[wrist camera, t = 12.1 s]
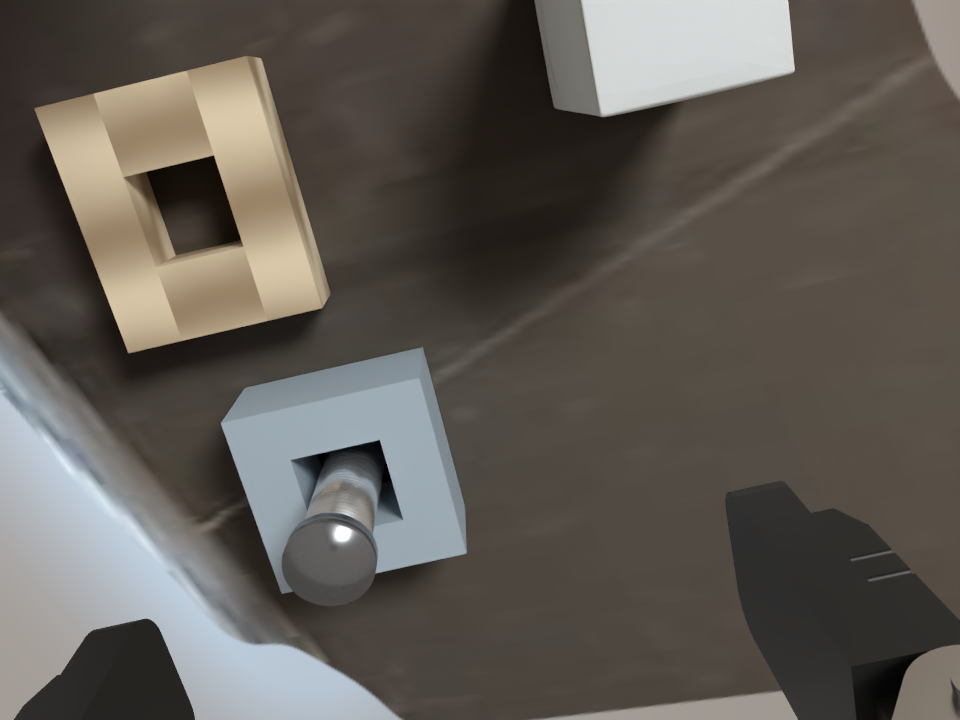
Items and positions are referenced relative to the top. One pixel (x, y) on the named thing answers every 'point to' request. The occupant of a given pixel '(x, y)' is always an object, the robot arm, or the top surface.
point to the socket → (344, 423)
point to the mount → (139, 224)
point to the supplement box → (659, 50)
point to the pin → (338, 529)
